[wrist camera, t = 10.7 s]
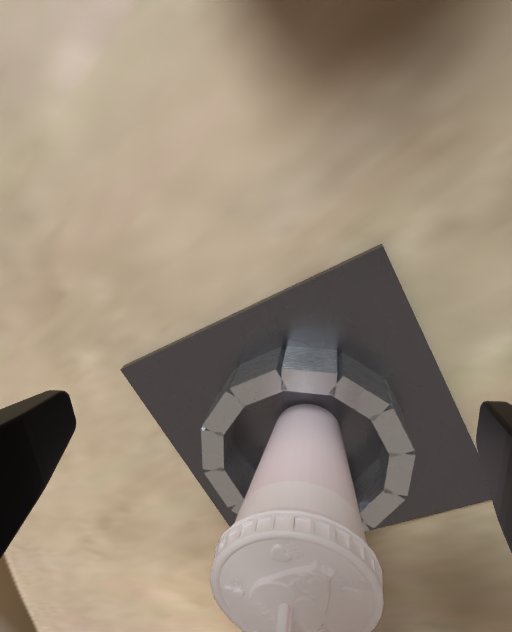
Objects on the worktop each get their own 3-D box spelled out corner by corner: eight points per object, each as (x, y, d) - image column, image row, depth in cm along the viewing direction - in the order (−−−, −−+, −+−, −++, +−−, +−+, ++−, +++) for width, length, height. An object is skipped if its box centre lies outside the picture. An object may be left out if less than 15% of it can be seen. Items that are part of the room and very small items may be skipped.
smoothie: (233, 440, 25) (132, 745, 12) (288, 361, 23) (232, 644, 10) (324, 492, 26) (317, 842, 13) (389, 421, 23) (462, 768, 10)
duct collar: (381, 243, 20) (389, 259, 17) (495, 491, 24) (516, 535, 21) (124, 365, 25) (98, 392, 22) (254, 553, 29) (246, 595, 26)
